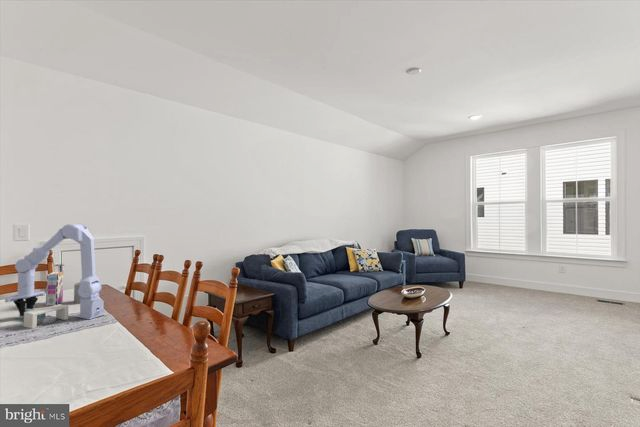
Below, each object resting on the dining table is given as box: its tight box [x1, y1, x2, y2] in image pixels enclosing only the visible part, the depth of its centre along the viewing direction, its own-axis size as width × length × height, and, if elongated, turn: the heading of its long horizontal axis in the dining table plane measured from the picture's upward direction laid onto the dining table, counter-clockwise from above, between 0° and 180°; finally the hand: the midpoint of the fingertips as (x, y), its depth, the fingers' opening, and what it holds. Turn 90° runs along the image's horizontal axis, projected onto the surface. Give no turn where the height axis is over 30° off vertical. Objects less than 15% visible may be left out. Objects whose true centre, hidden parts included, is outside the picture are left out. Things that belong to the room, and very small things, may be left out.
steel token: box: [37, 315, 57, 325], centre depth 147 cm, size 5×5×2 cm
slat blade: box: [18, 307, 46, 319], centre depth 152 cm, size 15×2×4 cm, turn 69°
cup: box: [73, 282, 81, 305], centre depth 183 cm, size 8×8×10 cm
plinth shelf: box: [23, 303, 69, 329], centre depth 147 cm, size 6×14×6 cm, turn 159°
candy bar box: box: [45, 271, 65, 307], centre depth 177 cm, size 11×5×16 cm, turn 25°
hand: (25, 314), depth 153 cm, fingers closed on slat blade, 2 cm apart
